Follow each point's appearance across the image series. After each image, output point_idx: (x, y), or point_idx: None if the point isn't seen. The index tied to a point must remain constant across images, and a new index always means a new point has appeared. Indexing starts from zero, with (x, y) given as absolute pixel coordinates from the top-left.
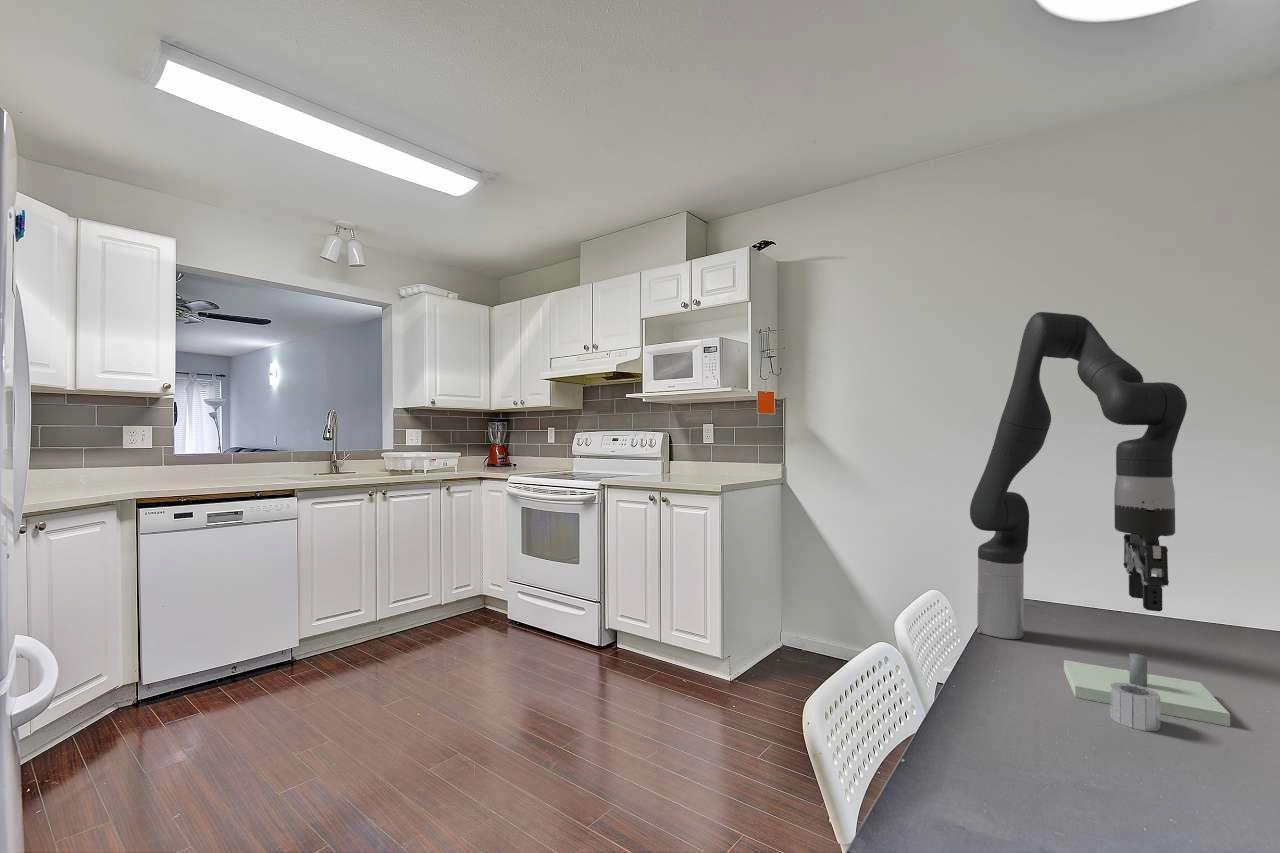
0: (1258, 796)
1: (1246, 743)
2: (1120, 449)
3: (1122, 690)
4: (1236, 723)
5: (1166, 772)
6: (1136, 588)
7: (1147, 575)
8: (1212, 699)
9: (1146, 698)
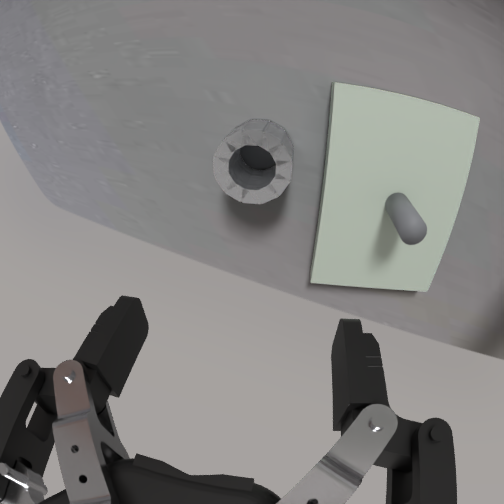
0: (118, 224)
1: (263, 267)
2: None
3: (238, 145)
4: None
5: (112, 154)
6: (338, 362)
7: (9, 383)
8: (363, 283)
9: (216, 177)
